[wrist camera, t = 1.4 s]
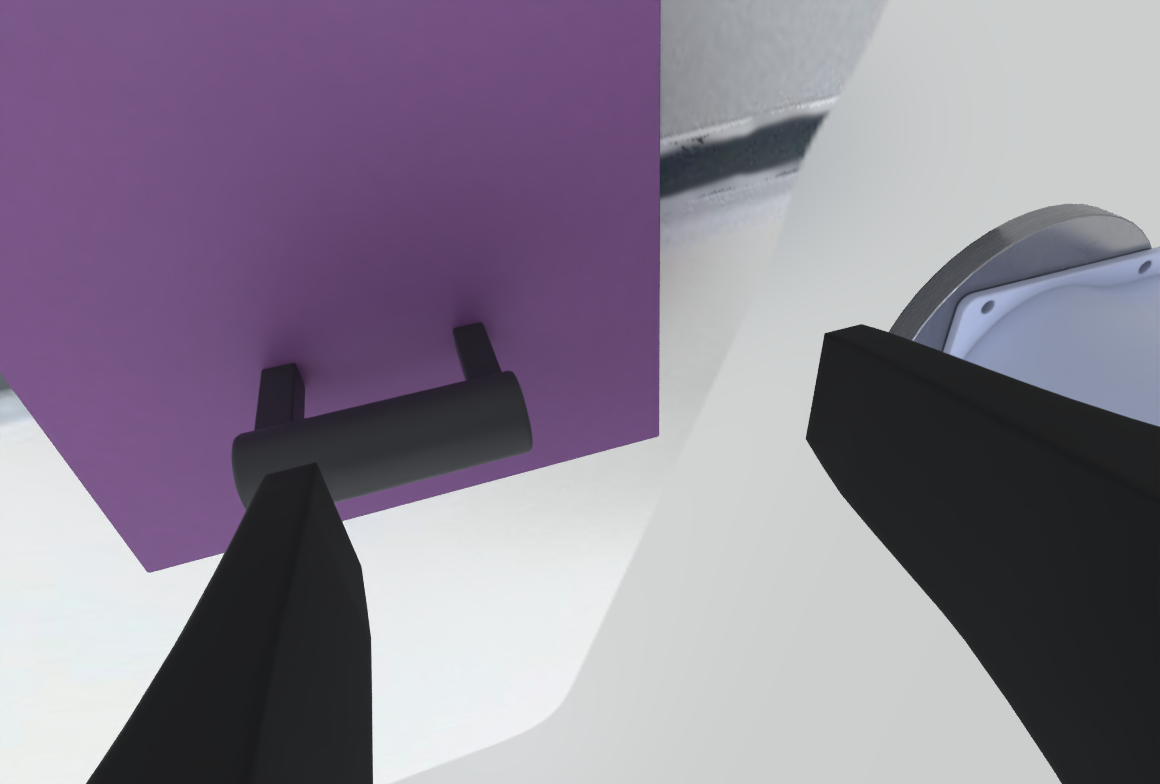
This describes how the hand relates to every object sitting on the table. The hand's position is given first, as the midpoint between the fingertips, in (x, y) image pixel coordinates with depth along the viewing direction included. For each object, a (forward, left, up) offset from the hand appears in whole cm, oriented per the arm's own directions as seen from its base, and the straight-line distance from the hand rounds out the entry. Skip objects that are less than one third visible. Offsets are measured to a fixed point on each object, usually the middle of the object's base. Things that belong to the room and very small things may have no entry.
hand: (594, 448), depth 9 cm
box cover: (+3, 0, -7) cm, 7 cm away
